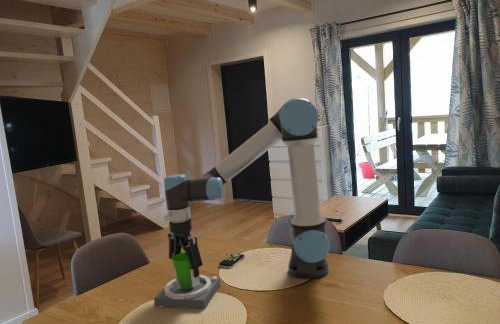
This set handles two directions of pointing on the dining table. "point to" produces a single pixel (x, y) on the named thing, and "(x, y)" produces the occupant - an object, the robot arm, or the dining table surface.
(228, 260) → the remote control
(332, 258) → the dining table surface
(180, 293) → the square coaster tray
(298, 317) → the dining table surface
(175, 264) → the cup
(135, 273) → the dining table surface
